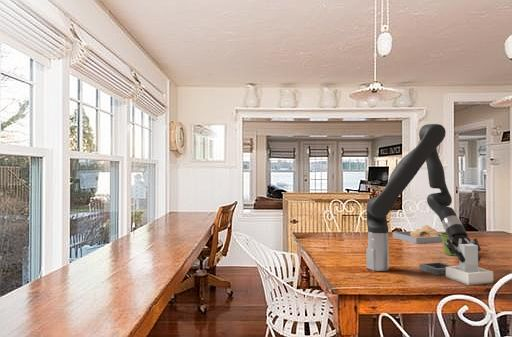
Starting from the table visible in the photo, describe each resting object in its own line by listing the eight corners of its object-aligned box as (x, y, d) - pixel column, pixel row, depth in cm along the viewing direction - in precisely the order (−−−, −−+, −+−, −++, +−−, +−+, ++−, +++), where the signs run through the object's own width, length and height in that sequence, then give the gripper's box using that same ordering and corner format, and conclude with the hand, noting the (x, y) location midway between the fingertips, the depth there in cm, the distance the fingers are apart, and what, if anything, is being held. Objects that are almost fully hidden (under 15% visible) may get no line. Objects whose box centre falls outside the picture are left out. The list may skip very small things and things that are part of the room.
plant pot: (444, 251, 227) (444, 231, 227) (467, 254, 218) (467, 233, 218) (436, 254, 219) (436, 233, 219) (459, 258, 210) (459, 236, 210)
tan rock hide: (427, 253, 254) (427, 243, 251) (407, 244, 265) (407, 234, 262) (443, 240, 263) (443, 230, 260) (423, 232, 274) (423, 222, 271)
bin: (468, 285, 161) (468, 273, 161) (445, 277, 173) (445, 266, 173) (493, 282, 165) (493, 271, 165) (469, 274, 177) (469, 264, 177)
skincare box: (472, 271, 172) (471, 243, 172) (478, 274, 167) (478, 245, 167) (458, 272, 171) (458, 243, 171) (464, 275, 167) (464, 245, 167)
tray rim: (416, 243, 251) (416, 238, 251) (392, 237, 274) (392, 232, 274) (448, 241, 258) (448, 235, 258) (423, 235, 281) (423, 230, 281)
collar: (436, 275, 177) (436, 269, 177) (419, 269, 187) (419, 263, 187) (456, 273, 180) (456, 267, 180) (439, 267, 190) (439, 262, 191)
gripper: (442, 223, 176) (458, 256, 164) (473, 222, 177) (491, 255, 165) (435, 233, 181) (451, 266, 169) (465, 233, 182) (483, 265, 171)
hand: (471, 261), depth 167 cm, fingers closed on skincare box, 6 cm apart
